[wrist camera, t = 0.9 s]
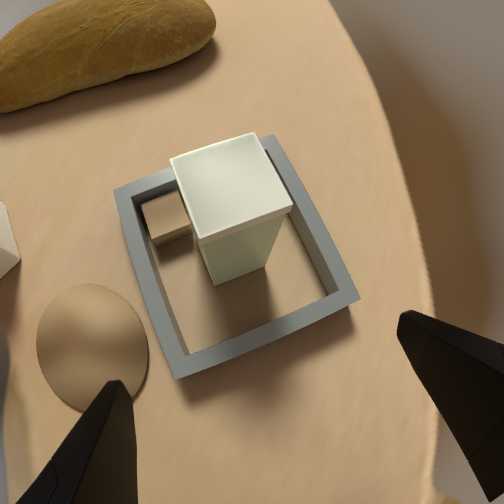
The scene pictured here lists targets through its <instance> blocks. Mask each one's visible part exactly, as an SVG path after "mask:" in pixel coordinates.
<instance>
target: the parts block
mask: <svg viewBox="0 0 504 504" xmlns="http://www.w3.org/2000/svg"><path fill="white" fill-rule="evenodd" d="M141 207H142V210H143V213H144V216H145V220H146V223H147V226H148V229H149V232H150V235H151V238H152V240H153V242H154V243H155V244H156V246H157V247H158V246H161V245H163V244H166V243H168V242H171V241H173V240H176V239H178V238H181V237H183V236H186V235H188V234H191V233H193V230H192V227H191V224H190V221H189V219H188V216H187V214H186V211H185V208H184V206H183V203H182V200H181V198H180V195H179V192H178V190H176V191H173V192H171V193H168V194H166V195H163V196H161V197H158V198H156V199H153V200H151V201H148V202H146V203H143V204H141Z"/></svg>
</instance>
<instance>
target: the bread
mask: <svg viewBox="0 0 504 504" xmlns="http://www.w3.org/2000/svg"><path fill="white" fill-rule="evenodd" d="M215 28H216V19H215V16H214V13H213V11H212V9H211V8H210V7H209V5H208V4H207V3H206V2H205V1H204V0H61V1H59V2H56V3H54V4H52V5H50V6H48V7H46V8H44V9H42V10H40V11H38V12H36V13H34V14H32V15H31V16H29V17H28V18H26V19H25V20H24V21H22V22H21V23H19V24H18V25H17V26H15V27H14V28H13V29H12V30H11V31H9V32H8V33H7V34H6V35H5V36H4V37H3V38H2V39H1V40H0V113H6V112H11V111H15V110H18V109H22V108H26V107H30V106H32V105H35V104H37V103H41V102H47V101H51V100H53V99H55V98H58V97H60V96H64V95H66V94H68V93H69V92H72V91H77V90H83V89H86V88H89V87H93V86H96V85H100V84H104V83H108V82H112V81H114V80H117V79H120V78H122V77H123V76H125V75H129V74H134V73H140V72H145V71H149V70H153V69H157V68H161V67H164V66H167V65H169V64H172V63H175V62H178V61H180V60H181V59H183V58H185V57H187V56H189V55H191V54H193V53H194V52H196V51H198V50H200V49H201V48H202V47H204V46H205V45H206V43H207V42H208V41H209V40H210V39H211V37H212V36H213V34H214V31H215Z"/></svg>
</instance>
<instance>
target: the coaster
mask: <svg viewBox="0 0 504 504" xmlns="http://www.w3.org/2000/svg"><path fill="white" fill-rule="evenodd" d="M36 347H37V356H38V361H39V365H40V368H41V370H42V373H43V375H44V377H45V379H46V381H47V382H48V384H49V386H50V387H51V388H52V390H53V391H54V392H55V393H56V394H57V395H58V396H59V397H60V398H61V399H62V400H63V401H65V402H66V403H67V404H69V405H71V406H72V407H74V408H77V409H79V410H82V411H86V409H87V408H88V406H89V405H90V404H91V402H92V401H93V400H94V398H95V397H96V396H97V394H98V393H99V392H100V390H101V389H102V388H103V386H104V385H105V384H106V382H107V381H109V380H117V379H119V380H121V381H122V382H123V384H124V385H125V387H126V389H127V390H128V392H129V394H130V395H131V397H133V396H134V395H135V394H136V393H137V391H138V390H139V388H140V387H141V385H142V383H143V381H144V378H145V375H146V372H147V366H148V356H149V353H148V342H147V337H146V333H145V330H144V327H143V325H142V323H141V320H140V318H139V317H138V315H137V313H136V312H135V310H134V309H133V308H132V306H131V305H130V304H129V303H128V302H127V301H126V300H125V299H124V298H122V297H121V296H120V295H119V294H117V293H115V292H114V291H112V290H110V289H108V288H105V287H103V286H99V285H94V284H80V285H75V286H72V287H70V288H67V289H66V290H64V291H62V292H61V293H59V294H58V295H57V296H56V297H55V298H54V299H53V300H52V301H51V302H50V303H49V304H48V306H47V307H46V309H45V311H44V312H43V315H42V317H41V319H40V323H39V326H38V331H37V339H36Z"/></svg>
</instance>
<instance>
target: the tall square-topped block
mask: <svg viewBox="0 0 504 504" xmlns="http://www.w3.org/2000/svg"><path fill="white" fill-rule="evenodd" d="M170 163H171V166H172V169H173V172H174V175H175V178H176V180H177V183H178V186H179V189H180V191H181V194H182V197H183V200H184V203H185V206H186V210H187V213H188V216H189V220H190V223H191V226H192V229H193V233H194V236H195V239H196V242H197V244H198V247H199V249H200V252H201V254H202V257H203V259H204V262H205V264H206V267H207V269H208V272H209V274H210V277H211V279H212V282H213V284H214V286H217V285H219V284H222V283H224V282H227V281H229V280H232V279H234V278H237V277H239V276H242V275H244V274H247V273H249V272H252V271H254V270H257V269H259V268H262V267H264V266H265V264H266V262H267V259H268V257H269V254H270V252H271V249H272V247H273V245H274V242H275V240H276V237H277V235H278V232H279V230H280V227H281V225H282V222H283V220H284V217H285V215H286V213H288V212H290V211H291V208H292V206H293V203H292V201H291V199H290V197H289V195H288V193H287V191H286V189H285V187H284V186H283V184H282V182H281V180H280V178H279V176H278V174H277V173H276V171H275V169H274V167H273V165H272V163H271V162H270V160H269V158H268V156H267V154H266V153H265V151H264V149H263V147H262V145H261V144H260V142H259V140H258V138H257V137H256V135H255V133H254V132H252V133H249V134H245V135H242V136H238V137H235V138H232V139H228V140H225V141H222V142H219V143H215V144H212V145H209V146H206V147H203V148H200V149H197V150H194V151H191V152H188V153H185V154H182V155H180V156H177V157H174V158H171V159H170Z"/></svg>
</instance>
